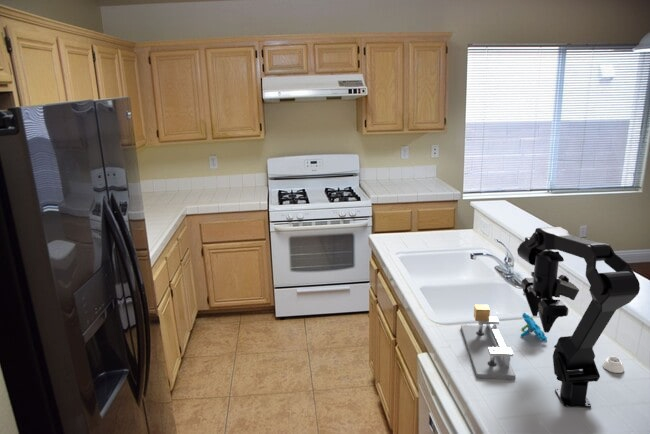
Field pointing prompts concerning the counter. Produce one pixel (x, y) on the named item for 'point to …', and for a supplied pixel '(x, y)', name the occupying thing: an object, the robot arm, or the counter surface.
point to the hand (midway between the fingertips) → (540, 323)
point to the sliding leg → (483, 316)
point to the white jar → (613, 364)
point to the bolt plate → (484, 354)
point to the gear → (532, 327)
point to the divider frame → (499, 347)
